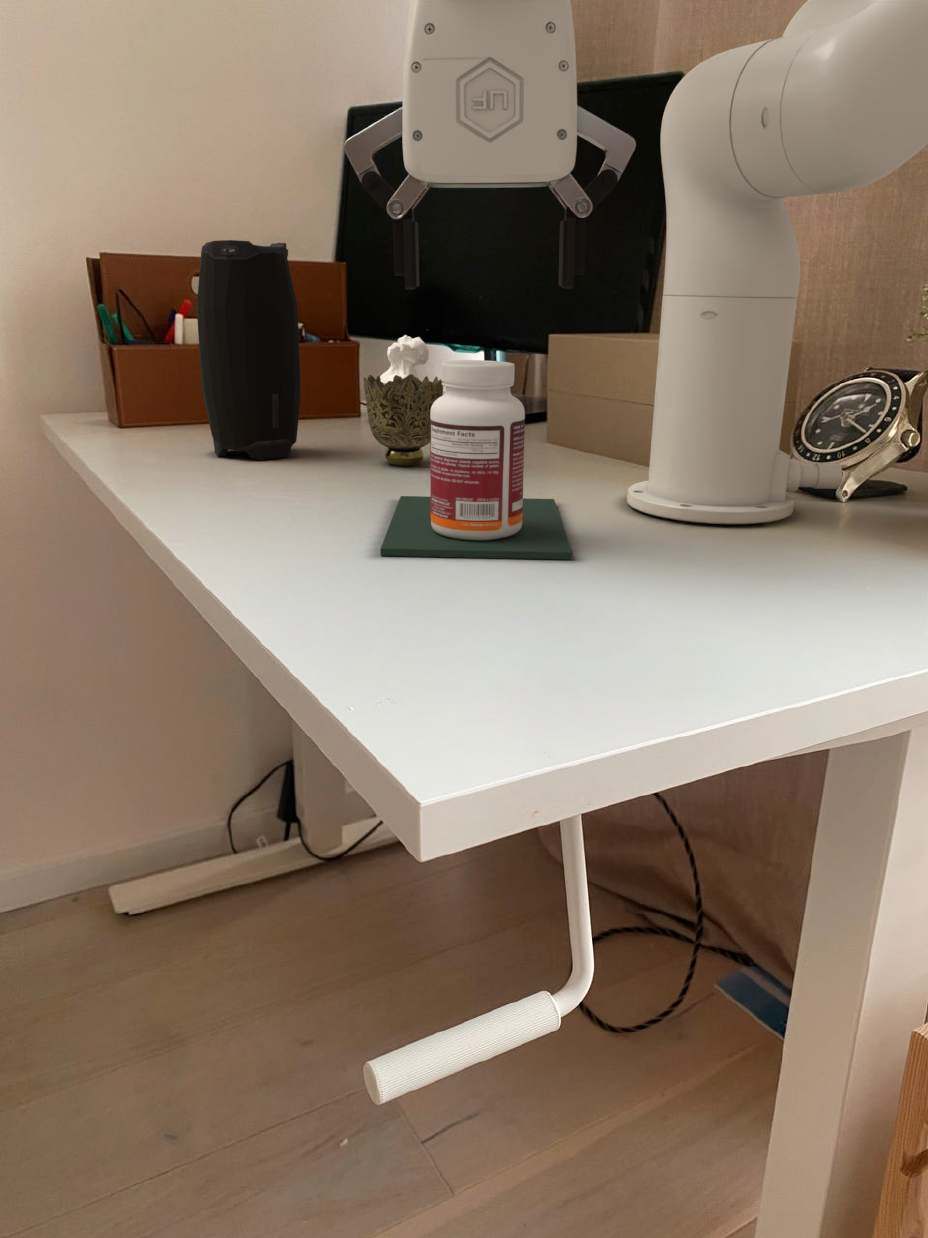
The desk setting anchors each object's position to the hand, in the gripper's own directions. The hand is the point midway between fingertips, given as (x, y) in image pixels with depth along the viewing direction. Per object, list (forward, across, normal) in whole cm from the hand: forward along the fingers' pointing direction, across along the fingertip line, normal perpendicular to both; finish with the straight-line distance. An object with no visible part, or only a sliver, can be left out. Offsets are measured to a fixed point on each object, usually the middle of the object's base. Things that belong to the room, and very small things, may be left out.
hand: (488, 288), depth 61 cm
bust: (+17, -11, +56) cm, 60 cm away
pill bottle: (+16, -1, -1) cm, 16 cm away
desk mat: (+16, -1, +2) cm, 16 cm away
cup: (+16, -8, +28) cm, 33 cm away
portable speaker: (+16, -23, +32) cm, 42 cm away
